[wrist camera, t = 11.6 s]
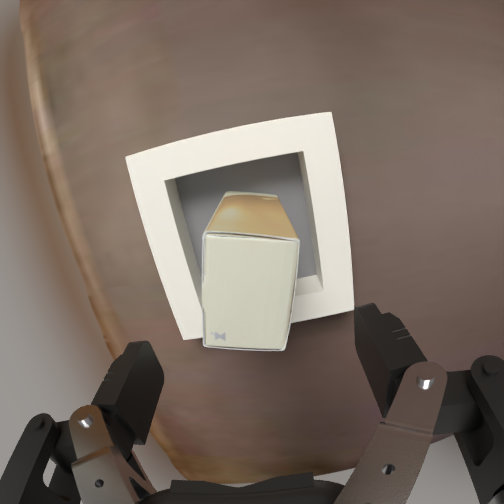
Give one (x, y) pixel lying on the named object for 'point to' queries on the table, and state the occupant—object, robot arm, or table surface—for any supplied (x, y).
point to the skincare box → (248, 273)
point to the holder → (248, 180)
